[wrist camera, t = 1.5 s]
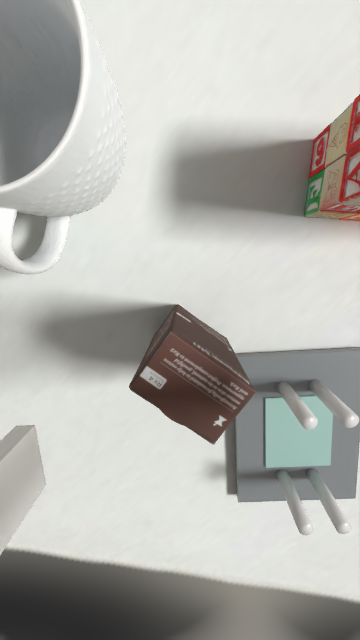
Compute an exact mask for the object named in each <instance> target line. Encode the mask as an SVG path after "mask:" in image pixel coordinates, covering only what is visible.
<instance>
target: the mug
mask: <svg viewBox="0 0 360 640" xmlns="http://www.w3.org/2000/svg"><path fill="white" fill-rule="evenodd" d="M125 148H126V142H125V128H124V118H123V115H122V107H121V104H120V102H119V98H118V92H117V89H116V87H115V85H114V80H113V77H112V75H111V74H110V71H109V68H108V65H107V61H106V58H105V56H104V55H103V53H102V50H101V47H100V43H99V41H98V39H97V37H96V35H95V33H94V30H93V28H92V25H91V22H90V20H89V18H88V16H87V15H86V12H85V10H84V8H83V5H82V3H81V1H80V0H0V266H1V267H3V268H5V269H7V270H10V271H13V272H16V273H21V274H37V273H41V272H44V271H46V270H48V269H50V268H51V267H52V266H53V265H54V264H55V263H56V262H57V261H58V260H59V258H60V256H61V254H62V252H63V249H64V246H65V243H66V239H67V234H68V229H69V223H70V216H71V215H74V214H79V213H81V212H84V211H88V210H89V209H92V208H93V207H95V206H97V205H99V204H100V203H101V202H103V201H104V199H105V198H107V197H108V195H109V194H110V193H111V192H112V190H113V189H114V187H115V185H116V184H117V183H118V180H119V178H120V175H121V173H122V168H123V166H124V159H125ZM17 212H19V213H22V214H31V215H34V216H39V215H41V216H47V225H46V229H45V233H44V238H43V241H42V244H41V246H40V248H39V249H38V251H37V252H36V253H35V254H34V255H33V256H32V257H30V258H28V259H24V260H20V259H19V258H18V257H17V256H16V255H15V253H14V250H13V246H12V238H13V228H14V223H15V220H16V215H17Z"/></svg>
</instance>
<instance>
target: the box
mask: <svg viewBox="0 0 360 640" xmlns="http://www.w3.org/2000/svg"><path fill="white" fill-rule="evenodd" d="M129 388H130V390H131V391H133V392H134V393H136V394H137V395H139V396H141V397H142V398H143V399H145V400H147V401H148V402H150V403H151V404H153V405H155V406H156V407H157V408H159V409H160V410H161V411H162V412H163V413H164V414H165V415H166V416H167V417H168V418H170V419H171V420H173V421H175V422H176V423H179V424H181V425H184V426H186V427H188V428H189V429H191V430H192V431H194V432H195V433H197V434H198V435H200V436H201V437H202V438H204V439H206V440H207V441H208V442H210V443H211V444H215V442H216V441H217V440H218V438H219V437H220V436H221V435H222V433H223V432H224V431H225V430H226V428H227V427H228V426H229V425H230V423H231V422H232V421H233V420H234V419H235V418H236V416H237V415H238V414H239V413H240V412H241V410H242V409H243V408H244V407H245V406H246V404H247V403H248V402H249V401H250V399H251V398H252V397H253V396H254V394H255V393H256V390H255V389H254V388H253V386H252V384H251V382H250V380H249V379H248V377H247V375H246V373H245V372H244V369H243V368H242V366H241V364H240V362H239V360H238V359H237V357H236V355H235V353H234V351H233V349H232V347H231V345H230V344H229V342H228V340H227V338H226V337H224V336H223V335H221V334H219V333H218V332H216V331H215V330H214V329H212V328H211V327H209V326H208V325H206V324H205V323H203V322H202V321H200V320H199V319H197V318H196V317H195V316H193V315H192V314H191V313H189V312H188V311H187V310H185V309H184V308H183V307H181V306H180V305H176V307H175V308H174V309H173V311H172V312H171V313H170V315H169V316H168V318H167V319H166V320H165V322H164V323H163V325H162V326H161V327H160V329H159V330H158V331H157V333H156V334H155V335H154V337H153V339H152V341H151V343H150V345H149V348H148V350H147V352H146V354H145V356H144V358H143V360H142V362H141V364H140V366H139V367H138V370H137V372H136V374H135V375H134V378H133V380H132V381H131V383H130V385H129Z"/></svg>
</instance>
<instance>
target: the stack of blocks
mask: <svg viewBox="0 0 360 640" xmlns="http://www.w3.org/2000/svg"><path fill="white" fill-rule="evenodd" d="M304 216H305V217H321V218H337V219H340V220H356V221H360V95H359V96H358V97H356V99H355V100H354V102H353V103H352V104H351V105H350V106H349V107H348V108H347V109H346V110H345V111H344V112H343V113H342V114H341V115H340V116H339V117H337V118H336V119H335V120H334V121H333V123H331V124H330V125H328V126H327V127H326V128H325V129H324V130H323V132H321V133H320V134H319V135H318V136H317V137H316V138H315V139H314V144H313V151H312V158H311V166H310V173H309V185H308V192H307V198H306V205H305V212H304Z"/></svg>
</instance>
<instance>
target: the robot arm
mask: <svg viewBox="0 0 360 640" xmlns="http://www.w3.org/2000/svg"><path fill="white" fill-rule="evenodd" d="M45 485H46V482H45V476H44V471H43V466H42V460H41V455H40V450H39V444H38V439H37V434H36V428H35V425H26V426H16V427H15V428H14V429H13V430H12V431H10V432H9V433H8V434H7V435H6V436H5V437H4V438H3V439H2V440H1V441H0V555H1V553H2V552H3V550H4V549H5V547H6V545H7V544H8V542H9V541H10V539H11V538H12V536H13V535H14V533H15V532H16V530H17V528H18V527H19V525H20V524H21V522H22V521H23V519H24V518H25V516H26V515H27V513H28V511H29V510H30V508H31V507H32V505H33V504H34V502H35V501H36V499H37V498H38V496H39V494H40V493H41V491H42V490H43V488H44V487H45Z"/></svg>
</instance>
